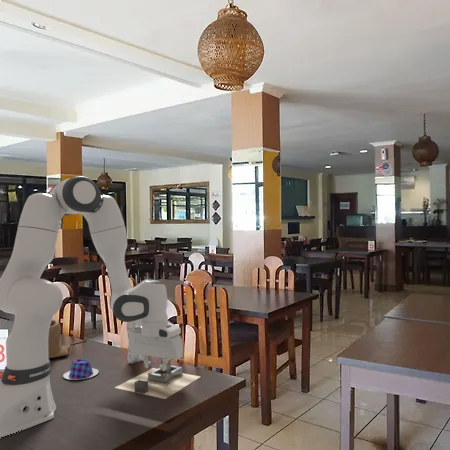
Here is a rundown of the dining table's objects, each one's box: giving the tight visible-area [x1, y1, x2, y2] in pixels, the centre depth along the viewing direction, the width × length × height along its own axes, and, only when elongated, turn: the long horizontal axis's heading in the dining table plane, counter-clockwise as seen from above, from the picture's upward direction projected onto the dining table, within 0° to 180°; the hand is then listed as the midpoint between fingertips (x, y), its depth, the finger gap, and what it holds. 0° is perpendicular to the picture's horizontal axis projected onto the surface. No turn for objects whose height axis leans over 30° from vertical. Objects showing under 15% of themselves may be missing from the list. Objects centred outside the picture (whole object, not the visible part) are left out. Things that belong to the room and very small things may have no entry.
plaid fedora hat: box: [62, 358, 100, 381], centre depth 157 cm, size 12×12×5 cm
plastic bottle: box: [125, 319, 144, 365], centre depth 168 cm, size 6×7×20 cm
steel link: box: [148, 365, 184, 384], centre depth 149 cm, size 10×7×2 cm
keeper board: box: [114, 359, 201, 400], centre depth 145 cm, size 20×20×8 cm
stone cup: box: [48, 319, 71, 359], centre depth 178 cm, size 15×12×15 cm
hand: (155, 369), depth 148 cm, fingers open, 5 cm apart
